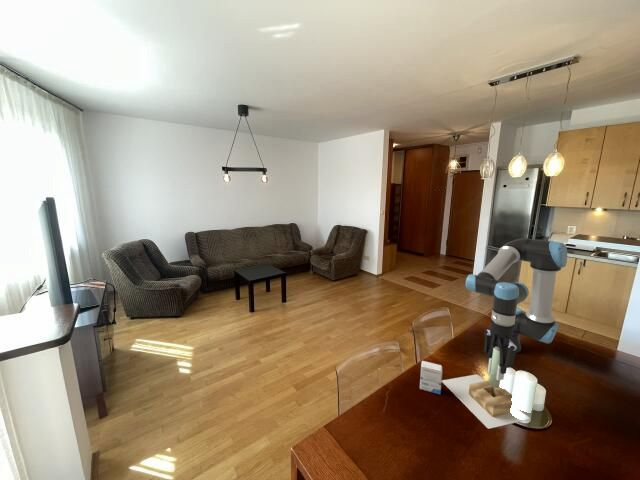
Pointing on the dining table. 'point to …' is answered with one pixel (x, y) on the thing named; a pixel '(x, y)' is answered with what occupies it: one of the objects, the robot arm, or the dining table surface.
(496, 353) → the pale green cylinder
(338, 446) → the dining table surface
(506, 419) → the grey mat
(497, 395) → the wooden square holder
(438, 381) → the ink box
